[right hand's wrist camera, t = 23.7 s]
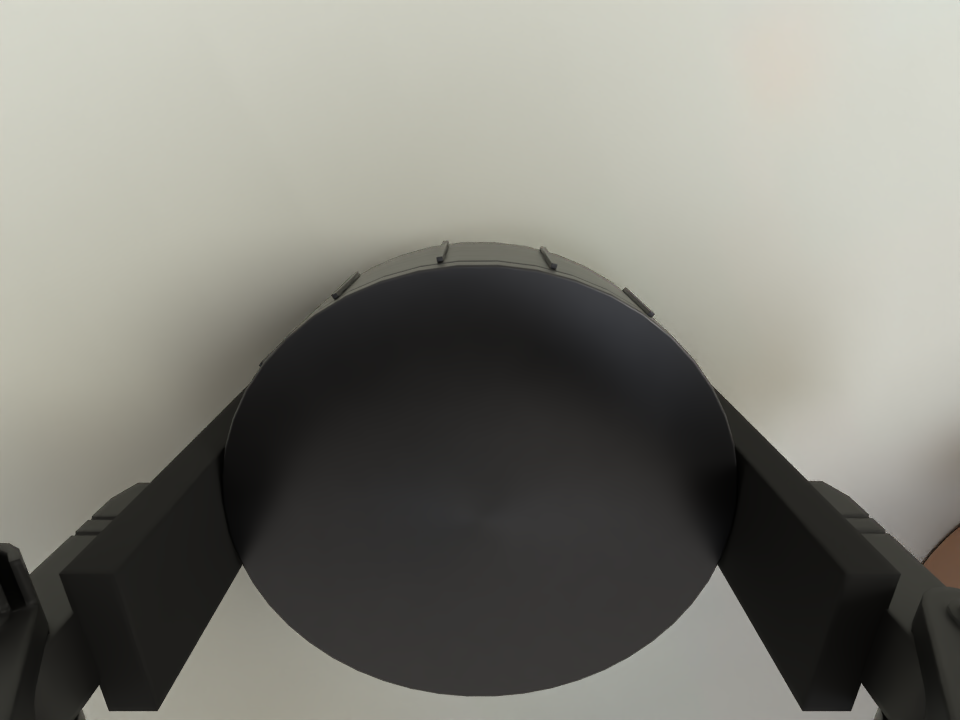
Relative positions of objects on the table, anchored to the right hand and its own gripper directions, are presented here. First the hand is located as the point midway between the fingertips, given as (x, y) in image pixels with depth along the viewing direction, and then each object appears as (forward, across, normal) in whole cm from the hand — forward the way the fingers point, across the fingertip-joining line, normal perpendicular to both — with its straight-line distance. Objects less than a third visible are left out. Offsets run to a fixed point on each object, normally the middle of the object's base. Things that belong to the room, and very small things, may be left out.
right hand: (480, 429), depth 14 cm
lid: (-3, 0, 0) cm, 3 cm away
